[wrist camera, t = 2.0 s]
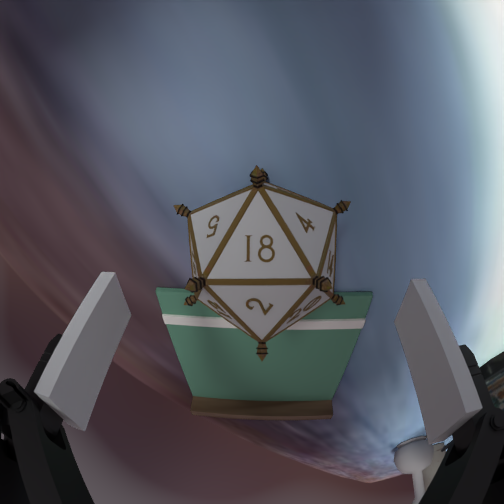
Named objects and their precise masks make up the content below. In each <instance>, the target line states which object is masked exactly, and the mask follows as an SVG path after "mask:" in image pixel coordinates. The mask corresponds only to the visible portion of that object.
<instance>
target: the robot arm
mask: <svg viewBox="0 0 504 504" xmlns="http://www.w3.org/2000/svg"><path fill="white" fill-rule="evenodd" d="M130 317H131V313H130V311H129V308H128V306H127V303H126V301H125V298H124V295H123V293H122V290H121V287H120V284H119V282H118V279H117V276H116V273H113V272H101V274H100V275H99V277H98V278H97V280H96V281H95V283H94V284H93V286H92V287H91V289H90V291H89V292H88V294H87V295H86V297H85V299H84V300H83V302H82V303H81V305H80V307H79V308H78V310H77V312H76V313H75V315H74V317H73V318H72V320H71V322H70V324H69V325H68V327H67V329H66V330H65V332H64V334H63V335H61V334H58V335H56V336H55V337H54V338H53V339H52V340H51V341H50V342H49V344H48V346H47V348H46V350H45V351H44V354H43V355H42V357H41V359H40V361H39V362H38V364H37V366H36V368H35V370H34V372H33V374H32V376H31V378H30V380H29V382H28V384H27V386H26V388H25V389H23V388H22V387H21V386H20V385H19V384H18V382H16V380H15V379H11V378H9V379H6V380H4V381H2V382H1V383H0V504H94V502H93V500H92V498H91V496H90V494H89V491H88V489H87V487H86V485H85V482H84V480H83V478H82V475H81V473H80V471H79V468H78V466H77V463H76V461H75V459H74V456H73V453H72V450H71V448H70V445H69V442H68V439H67V436H66V433H65V430H64V428H63V426H62V425H61V424H62V422H63V420H64V421H65V422H66V423H68V424H69V425H70V426H72V427H75V428H77V429H80V430H83V431H85V429H86V426H87V423H88V421H89V418H90V415H91V412H92V409H93V406H94V404H95V401H96V398H97V396H98V393H99V391H100V388H101V385H102V383H103V380H104V378H105V375H106V373H107V370H108V368H109V366H110V363H111V361H112V358H113V356H114V353H115V351H116V349H117V346H118V344H119V342H120V339H121V337H122V335H123V333H124V330H125V328H126V326H127V324H128V321H129V319H130ZM394 323H395V326H396V329H397V332H398V335H399V338H400V341H401V344H402V347H403V350H404V353H405V356H406V359H407V362H408V366H409V369H410V372H411V376H412V379H413V383H414V386H415V390H416V394H417V397H418V401H419V405H420V409H421V413H422V417H423V421H424V426H425V430H426V434H427V439H428V444H433V443H437V442H440V441H444V440H445V439H447V438H448V437H449V436H451V435H452V436H453V440H452V441H451V442H450V443H448V444H447V445H445V446H444V447H443V448H442V450H441V452H443V451H445V450H446V449H447V448H448V449H447V451H446V453H445V456H444V458H443V460H442V462H441V464H440V466H439V468H438V470H437V472H436V474H435V476H434V477H433V479H432V481H431V483H430V485H429V486H428V488H427V490H426V492H425V493H424V495H423V497H422V498H421V500H420V502H419V503H418V504H504V411H503V410H502V409H500V408H496V407H495V406H494V404H493V402H492V399H491V396H490V393H489V391H488V388H487V385H486V383H485V380H484V378H483V375H481V370H480V368H479V366H478V363H477V361H476V359H475V356H474V354H473V353H472V351H471V350H470V349H469V348H468V347H467V346H466V345H460V346H459V345H458V343H457V341H456V339H455V336H454V334H453V332H452V330H451V328H450V326H449V324H448V321H447V319H446V317H445V315H444V313H443V311H442V309H441V307H440V305H439V303H438V301H437V299H436V298H435V296H434V294H433V292H432V290H431V288H430V286H429V284H428V283H427V281H426V279H411V281H410V284H409V286H408V289H407V292H406V294H405V297H404V299H403V302H402V304H401V307H400V309H399V312H398V314H397V316H396V319H395V321H394ZM1 433H3V434H4V440H2V439H1Z"/></svg>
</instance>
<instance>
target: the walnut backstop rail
mask: <svg viewBox="0 0 504 504" xmlns="http://www.w3.org/2000/svg"><path fill="white" fill-rule="evenodd" d="M190 411H191V413H192V415H200V416H209V417H220V418H233V419H251V420H316V419H331V418H332V416H333V408H332V400H319V401H252V400H233V399H219V398H207V397H197V396H193V399H192V405H191V410H190Z"/></svg>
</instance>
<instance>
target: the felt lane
mask: <svg viewBox="0 0 504 504" xmlns="http://www.w3.org/2000/svg"><path fill="white" fill-rule="evenodd" d="M156 294H157V297H158V300H159V304H160V307H161V310H162V313H163V314H162V317H163V320H164V323H165V324H166V325H167V328H168V331H169V334H170V337H171V340H172V342H173V345H174V348H175V351H176V353H177V356H178V359H179V362H180V364H181V367H182V369H183V372H184V375H185V377H186V380H187V382H188V385H189V387H190V390H191V392H192V395H193V396H197V397H207V398H219V399H233V400H252V401H319V400H332V398H333V396H334V394H335V392H336V389H337V387H338V385H339V383H340V380H341V378H342V376H343V374H344V371H345V369H346V366H347V364H348V362H349V359H350V357H351V354H352V352H353V349H354V347H355V344H356V342H357V339H358V336H359V334H360V331H361V328H363V326H364V323H365V321H366V320H365V317H366V315H367V312H368V309H369V306H370V303H371V300H372V297H373V294H372V292H334V294H339V296H342V297H343V300H344V302H345V304H344V305H338V306H336V304H335V303H333V301H332V300H331V299H330V300H329V301H327V302H326V303H324V304H323V305H322V306H320V307H319V308H317V309H316V310H314V311H313V312H311V313H310V314H308V315H307V316H305V317H304V318H302V319H301V320H299V321H298V322H296V323H295V324H293V325H292V326H290V327H289V328H287V329H286V330H284V331H283V332H281V333H280V334H278V335H276V336H275V337H273V338H272V339H270V340H268V341H267V342H266V346H267V348H268V349H267V353H268V354H267V355H266V357H265V358H264V360H263V361H261V360H260V358H259V356H258V355H257V354H256V353H257V349H256V348H257V347H258V342H257V341H256V340H254V339H253V338H251V337H250V336H248V335H247V334H245V333H244V332H242V331H241V330H240V329H238V328H237V327H235V326H234V325H232V324H231V323H229V322H228V321H226V320H225V319H224V318H222V317H221V316H219V315H218V314H216V313H215V312H214V311H212V310H211V309H209V308H208V307H207V306H205V305H204V304H202V303H201V302H200V301H198V300H197V302H196V304H193V306H188V305H184V303H185V299H186V297H189V296H190V295H194V292H193V293H191V292H190V291H188V290H185V289H179V288H160V287H157V289H156Z"/></svg>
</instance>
